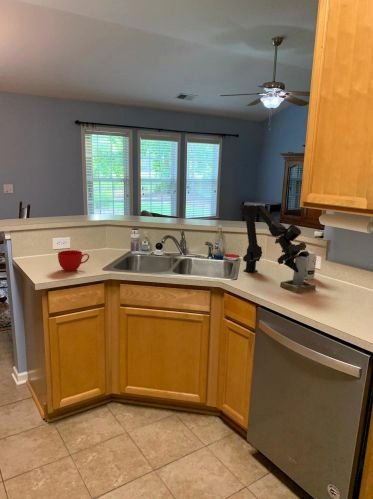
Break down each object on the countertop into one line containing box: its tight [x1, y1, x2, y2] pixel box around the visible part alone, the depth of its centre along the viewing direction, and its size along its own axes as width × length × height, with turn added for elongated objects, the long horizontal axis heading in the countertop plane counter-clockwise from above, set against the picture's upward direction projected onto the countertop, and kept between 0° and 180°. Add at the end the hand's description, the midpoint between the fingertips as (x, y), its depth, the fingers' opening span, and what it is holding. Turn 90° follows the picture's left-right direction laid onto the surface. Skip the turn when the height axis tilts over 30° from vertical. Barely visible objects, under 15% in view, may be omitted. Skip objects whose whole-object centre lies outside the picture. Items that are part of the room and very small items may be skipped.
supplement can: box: [304, 250, 317, 280], centre depth 205 cm, size 8×8×15 cm
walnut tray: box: [279, 279, 317, 295], centre depth 188 cm, size 12×12×2 cm
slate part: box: [292, 256, 306, 286], centre depth 186 cm, size 5×5×14 cm
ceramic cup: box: [57, 249, 90, 273], centre depth 205 cm, size 13×17×10 cm
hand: (301, 271), depth 185 cm, fingers closed on slate part, 5 cm apart
